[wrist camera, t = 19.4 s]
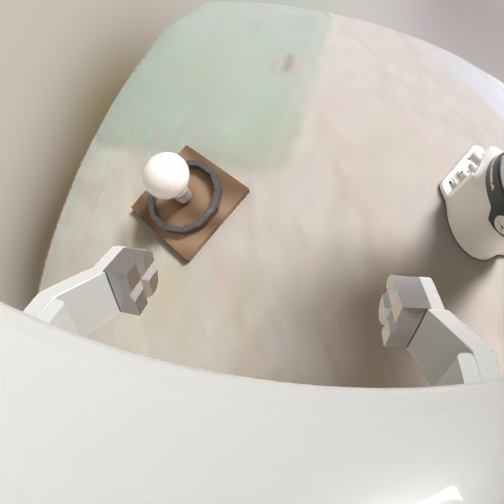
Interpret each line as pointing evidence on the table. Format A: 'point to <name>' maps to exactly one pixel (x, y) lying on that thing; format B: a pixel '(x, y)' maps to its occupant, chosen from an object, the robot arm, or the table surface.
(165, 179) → the lightbulb
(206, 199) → the board
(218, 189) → the collar
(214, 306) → the table surface
